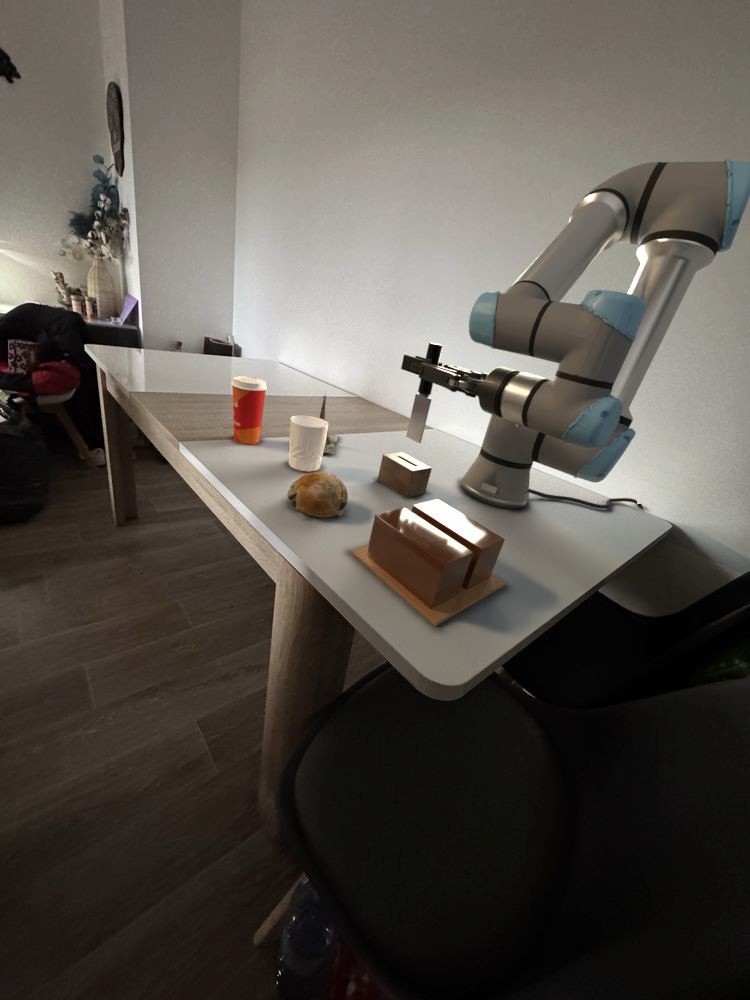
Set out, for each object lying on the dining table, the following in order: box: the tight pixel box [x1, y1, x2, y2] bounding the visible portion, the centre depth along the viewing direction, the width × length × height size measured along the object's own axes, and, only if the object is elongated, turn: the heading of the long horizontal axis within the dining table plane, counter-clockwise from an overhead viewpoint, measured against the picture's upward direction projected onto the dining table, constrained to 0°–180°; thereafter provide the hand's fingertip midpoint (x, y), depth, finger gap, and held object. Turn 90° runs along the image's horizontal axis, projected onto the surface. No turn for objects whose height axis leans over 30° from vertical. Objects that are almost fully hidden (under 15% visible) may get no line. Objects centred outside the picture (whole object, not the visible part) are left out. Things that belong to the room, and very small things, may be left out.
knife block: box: [377, 451, 433, 499], centre depth 84 cm, size 9×6×6 cm, turn 41°
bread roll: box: [286, 471, 349, 519], centre depth 69 cm, size 10×10×8 cm
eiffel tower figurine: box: [319, 391, 338, 455], centre depth 96 cm, size 15×10×13 cm
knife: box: [405, 342, 444, 444], centre depth 76 cm, size 4×3×19 cm, turn 41°
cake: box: [351, 498, 506, 627], centre depth 57 cm, size 17×16×8 cm
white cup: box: [288, 414, 330, 473], centre depth 83 cm, size 8×8×10 cm
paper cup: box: [230, 375, 268, 445], centre depth 89 cm, size 8×8×14 cm
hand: (409, 362), depth 77 cm, fingers closed on knife, 3 cm apart
